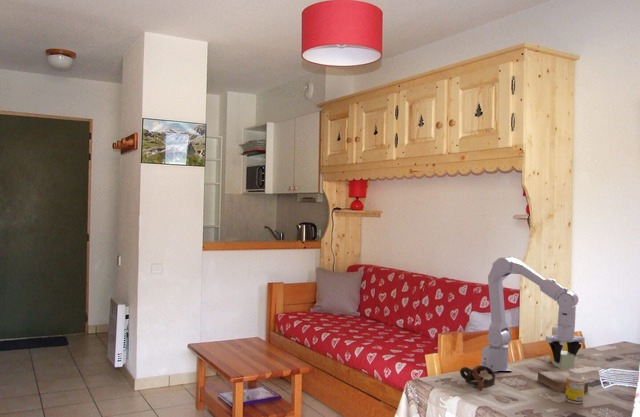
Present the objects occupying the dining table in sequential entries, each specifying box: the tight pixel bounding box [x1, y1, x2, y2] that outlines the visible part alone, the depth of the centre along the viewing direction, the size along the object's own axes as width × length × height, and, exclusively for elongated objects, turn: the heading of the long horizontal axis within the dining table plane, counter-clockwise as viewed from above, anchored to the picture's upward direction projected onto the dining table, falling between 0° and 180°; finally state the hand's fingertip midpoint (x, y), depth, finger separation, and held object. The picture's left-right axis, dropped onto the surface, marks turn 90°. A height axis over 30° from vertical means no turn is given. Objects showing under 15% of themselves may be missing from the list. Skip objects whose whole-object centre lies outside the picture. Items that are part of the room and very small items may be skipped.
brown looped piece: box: [459, 364, 496, 391], centre depth 194 cm, size 12×10×8 cm
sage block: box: [552, 350, 576, 370], centre depth 200 cm, size 5×5×5 cm
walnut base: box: [537, 371, 589, 392], centre depth 201 cm, size 12×12×3 cm
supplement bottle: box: [564, 368, 586, 405], centre depth 185 cm, size 6×6×10 cm
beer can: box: [549, 325, 568, 364], centre depth 230 cm, size 6×6×15 cm
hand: (563, 362), depth 200 cm, fingers closed on sage block, 5 cm apart
